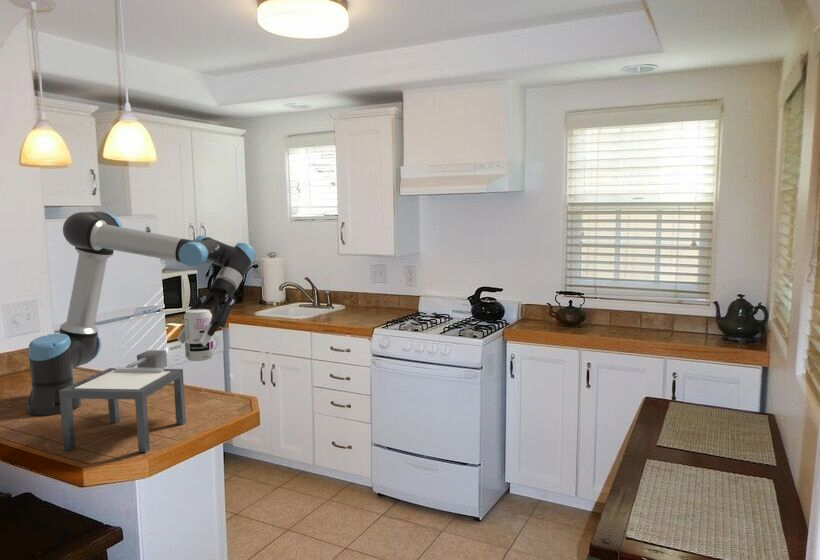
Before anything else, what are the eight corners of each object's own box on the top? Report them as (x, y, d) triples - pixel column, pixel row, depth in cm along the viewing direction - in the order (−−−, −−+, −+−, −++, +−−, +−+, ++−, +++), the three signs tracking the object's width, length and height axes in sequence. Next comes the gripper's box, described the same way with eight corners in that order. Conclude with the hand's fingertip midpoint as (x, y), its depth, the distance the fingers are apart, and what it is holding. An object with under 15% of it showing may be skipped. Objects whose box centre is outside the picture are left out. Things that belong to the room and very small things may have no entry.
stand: (63, 450, 164) (58, 390, 162) (113, 420, 186) (109, 368, 184) (145, 452, 161) (141, 392, 159) (185, 422, 184) (182, 369, 182)
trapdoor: (74, 399, 164) (73, 380, 164) (143, 365, 199) (142, 350, 198) (138, 400, 162) (137, 381, 162) (196, 366, 197) (195, 350, 196)
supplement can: (198, 354, 196) (196, 307, 194) (219, 356, 193) (217, 309, 191) (180, 360, 188) (177, 312, 186) (201, 362, 185) (199, 313, 183)
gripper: (257, 293, 197) (223, 352, 185) (207, 289, 206) (172, 345, 194) (245, 278, 192) (210, 338, 179) (195, 275, 201) (158, 332, 188)
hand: (190, 342), depth 187 cm, fingers closed on supplement can, 8 cm apart
